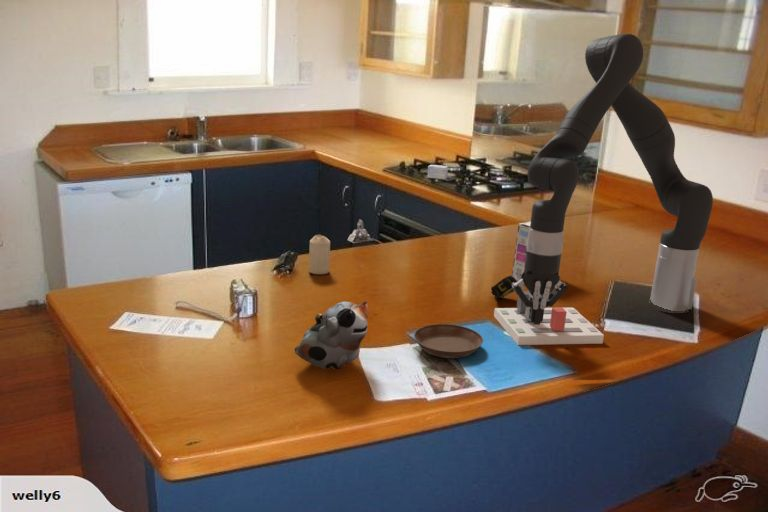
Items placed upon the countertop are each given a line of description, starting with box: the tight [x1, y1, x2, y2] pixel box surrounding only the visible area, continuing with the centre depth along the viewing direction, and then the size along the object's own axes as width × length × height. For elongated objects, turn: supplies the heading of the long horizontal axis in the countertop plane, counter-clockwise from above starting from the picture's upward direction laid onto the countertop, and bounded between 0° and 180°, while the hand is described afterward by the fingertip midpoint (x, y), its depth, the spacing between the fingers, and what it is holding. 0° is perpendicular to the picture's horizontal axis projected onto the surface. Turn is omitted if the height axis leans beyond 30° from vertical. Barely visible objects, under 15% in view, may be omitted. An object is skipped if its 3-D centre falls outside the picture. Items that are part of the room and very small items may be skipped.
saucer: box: [413, 323, 484, 359], centre depth 163 cm, size 15×15×3 cm
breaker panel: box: [493, 290, 605, 346], centre depth 175 cm, size 20×17×7 cm
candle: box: [308, 234, 331, 275], centre depth 205 cm, size 6×6×10 cm
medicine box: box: [427, 164, 449, 180], centre depth 324 cm, size 8×4×9 cm, turn 74°
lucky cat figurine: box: [294, 300, 370, 371], centre depth 152 cm, size 15×12×14 cm
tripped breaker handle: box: [550, 307, 567, 331], centre depth 170 cm, size 2×2×4 cm
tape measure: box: [490, 275, 517, 300], centre depth 191 cm, size 7×7×4 cm
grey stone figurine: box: [347, 218, 373, 244], centre depth 237 cm, size 9×9×8 cm
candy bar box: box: [511, 220, 531, 281], centre depth 208 cm, size 11×5×16 cm, turn 134°
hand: (535, 323), depth 169 cm, fingers closed
